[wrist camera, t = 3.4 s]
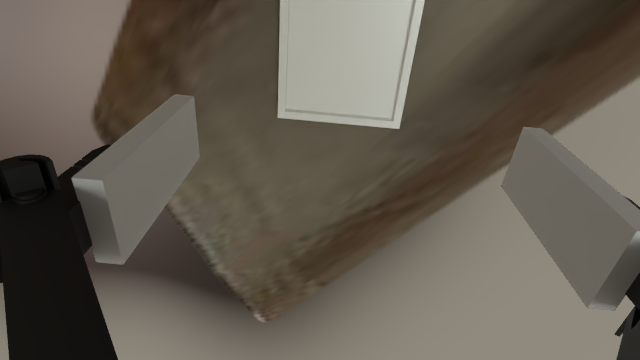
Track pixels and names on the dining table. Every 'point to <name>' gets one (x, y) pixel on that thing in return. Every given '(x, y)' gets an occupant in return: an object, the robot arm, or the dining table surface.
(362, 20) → the tray
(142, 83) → the dining table surface
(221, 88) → the dining table surface
